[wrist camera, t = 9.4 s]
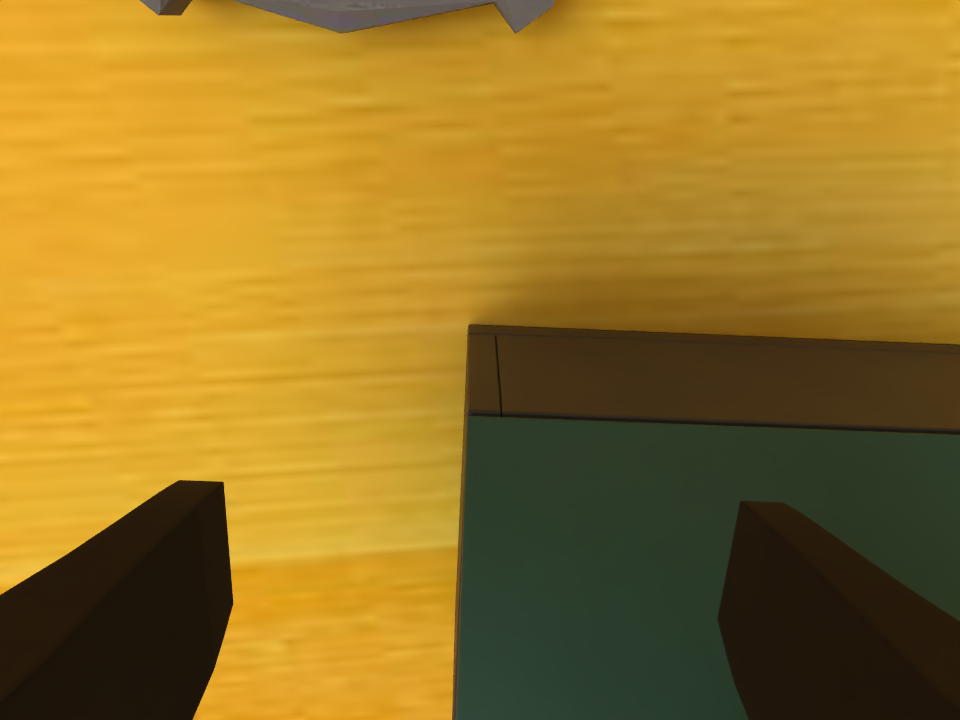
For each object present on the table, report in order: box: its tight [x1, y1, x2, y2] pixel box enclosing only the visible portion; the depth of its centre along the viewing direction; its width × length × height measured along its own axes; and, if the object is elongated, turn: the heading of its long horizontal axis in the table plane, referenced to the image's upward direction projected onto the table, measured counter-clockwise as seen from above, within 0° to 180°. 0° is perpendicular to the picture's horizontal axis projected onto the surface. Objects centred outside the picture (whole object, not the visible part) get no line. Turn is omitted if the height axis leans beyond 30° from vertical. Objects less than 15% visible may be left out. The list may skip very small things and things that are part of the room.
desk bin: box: [452, 325, 960, 720], centre depth 21 cm, size 9×14×5 cm, turn 87°
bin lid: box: [456, 416, 960, 720], centre depth 13 cm, size 10×14×5 cm
